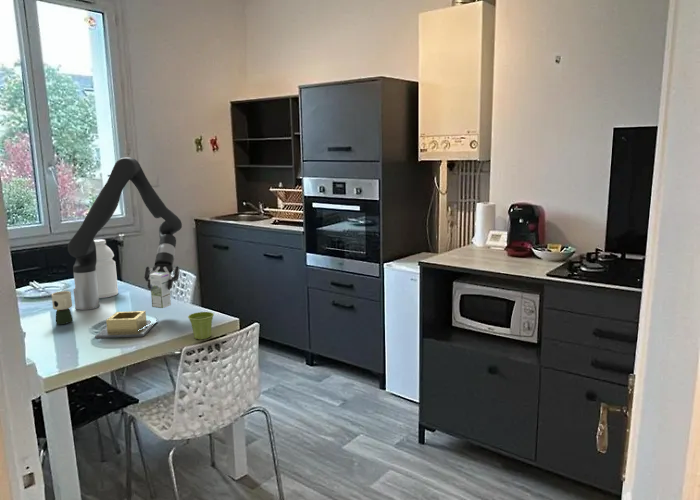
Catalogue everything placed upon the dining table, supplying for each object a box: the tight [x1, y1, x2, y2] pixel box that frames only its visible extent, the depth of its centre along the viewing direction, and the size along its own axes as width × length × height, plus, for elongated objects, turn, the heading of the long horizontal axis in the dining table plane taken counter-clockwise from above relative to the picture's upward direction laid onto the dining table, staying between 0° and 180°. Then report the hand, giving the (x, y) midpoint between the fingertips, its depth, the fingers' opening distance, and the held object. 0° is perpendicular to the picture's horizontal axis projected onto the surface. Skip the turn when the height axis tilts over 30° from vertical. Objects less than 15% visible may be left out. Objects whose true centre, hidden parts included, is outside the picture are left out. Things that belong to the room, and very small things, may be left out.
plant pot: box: [187, 311, 215, 340], centre depth 203 cm, size 9×9×9 cm
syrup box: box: [149, 272, 172, 309], centre depth 226 cm, size 6×6×14 cm
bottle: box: [93, 238, 119, 299], centre depth 268 cm, size 14×14×28 cm
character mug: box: [51, 290, 74, 325], centre depth 223 cm, size 11×7×13 cm, turn 44°
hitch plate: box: [95, 310, 158, 339], centre depth 213 cm, size 18×18×6 cm
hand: (159, 288), depth 225 cm, fingers closed on syrup box, 7 cm apart
